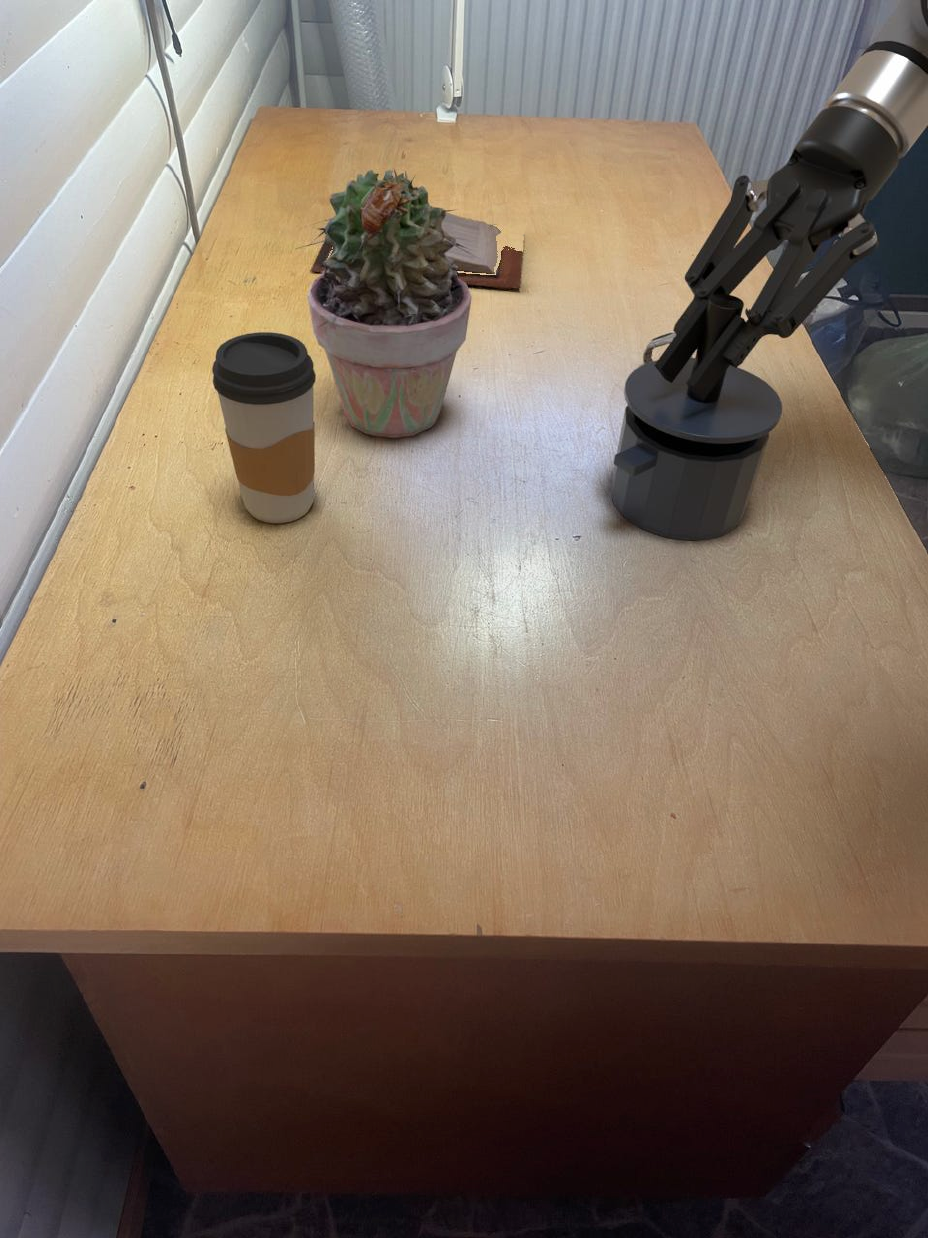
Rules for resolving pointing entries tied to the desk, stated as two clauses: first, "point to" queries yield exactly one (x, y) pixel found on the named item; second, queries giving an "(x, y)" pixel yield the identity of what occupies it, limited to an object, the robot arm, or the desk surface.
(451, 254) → the book
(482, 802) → the desk surface
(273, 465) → the coffee cup
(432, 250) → the potted plant
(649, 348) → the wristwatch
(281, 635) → the desk surface
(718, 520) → the pot
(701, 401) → the lid
